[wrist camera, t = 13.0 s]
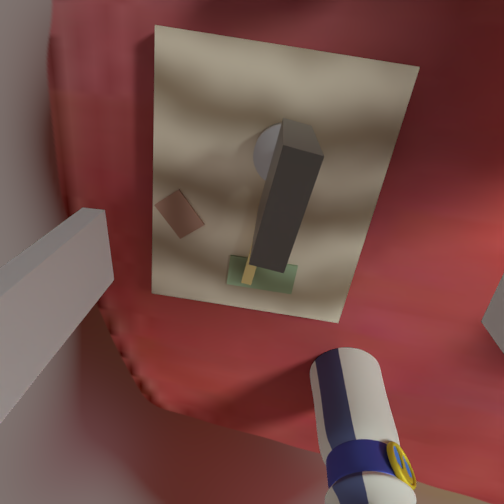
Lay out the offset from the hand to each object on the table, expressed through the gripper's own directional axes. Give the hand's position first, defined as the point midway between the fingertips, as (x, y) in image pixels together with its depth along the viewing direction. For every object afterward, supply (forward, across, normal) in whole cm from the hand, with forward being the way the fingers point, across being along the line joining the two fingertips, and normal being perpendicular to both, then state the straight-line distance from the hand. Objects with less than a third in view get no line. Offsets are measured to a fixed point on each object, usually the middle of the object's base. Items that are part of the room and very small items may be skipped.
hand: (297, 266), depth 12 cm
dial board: (+20, -2, -4) cm, 20 cm away
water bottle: (+20, +8, -24) cm, 32 cm away
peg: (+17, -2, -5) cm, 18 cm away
